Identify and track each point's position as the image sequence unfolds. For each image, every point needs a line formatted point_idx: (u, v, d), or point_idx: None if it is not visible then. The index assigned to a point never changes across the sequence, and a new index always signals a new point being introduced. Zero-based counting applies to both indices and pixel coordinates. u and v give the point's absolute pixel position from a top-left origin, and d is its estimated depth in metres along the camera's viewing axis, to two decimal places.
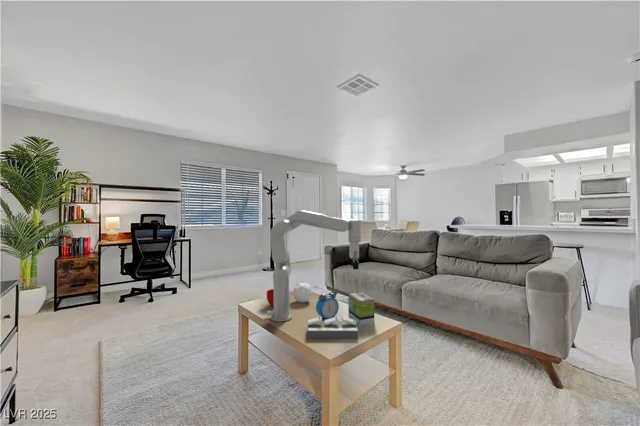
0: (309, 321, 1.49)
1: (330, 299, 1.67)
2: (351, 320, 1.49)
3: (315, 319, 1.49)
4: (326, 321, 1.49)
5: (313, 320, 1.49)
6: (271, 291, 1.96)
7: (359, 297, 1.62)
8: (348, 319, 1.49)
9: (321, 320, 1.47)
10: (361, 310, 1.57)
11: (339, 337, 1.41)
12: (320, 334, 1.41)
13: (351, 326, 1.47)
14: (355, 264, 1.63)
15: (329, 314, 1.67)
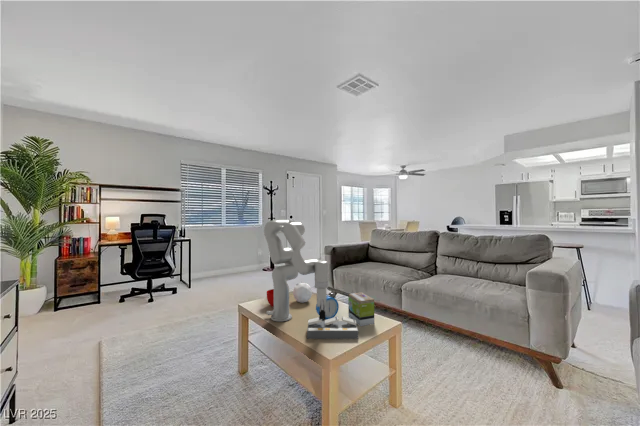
0: (309, 321, 1.49)
1: (330, 299, 1.67)
2: (351, 320, 1.49)
3: (315, 319, 1.49)
4: (326, 321, 1.49)
5: (313, 320, 1.49)
6: (271, 291, 1.96)
7: (359, 297, 1.62)
8: (348, 319, 1.49)
9: (321, 320, 1.47)
10: (361, 310, 1.57)
11: (339, 337, 1.41)
12: (320, 334, 1.41)
13: (351, 326, 1.47)
14: (321, 313, 1.47)
15: (329, 314, 1.67)
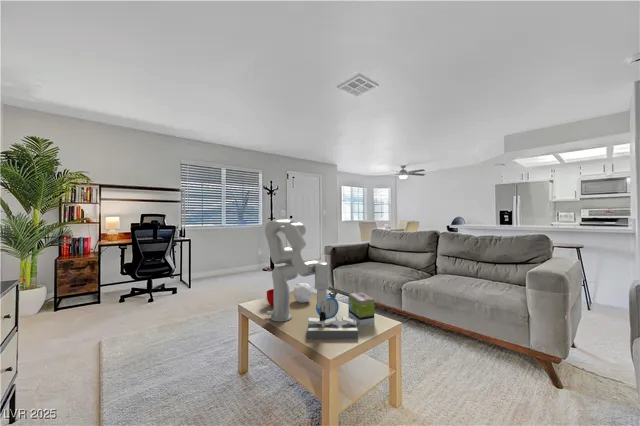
0: (310, 319, 1.49)
1: (330, 299, 1.67)
2: (351, 320, 1.49)
3: (316, 319, 1.49)
4: (326, 321, 1.49)
5: (314, 319, 1.49)
6: (271, 291, 1.96)
7: (359, 297, 1.62)
8: (348, 319, 1.49)
9: None
10: (361, 310, 1.57)
11: (339, 337, 1.41)
12: (320, 334, 1.41)
13: (351, 326, 1.47)
14: (322, 315, 1.47)
15: (329, 314, 1.67)
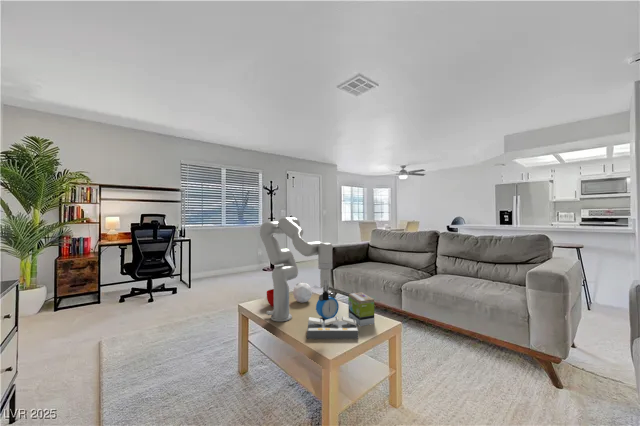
0: (310, 319, 1.49)
1: (330, 299, 1.67)
2: (351, 320, 1.49)
3: (316, 319, 1.49)
4: (326, 321, 1.49)
5: (314, 319, 1.49)
6: (271, 291, 1.96)
7: (359, 297, 1.62)
8: (348, 319, 1.49)
9: None
10: (361, 310, 1.57)
11: (339, 337, 1.41)
12: (320, 334, 1.41)
13: (351, 326, 1.47)
14: (325, 295, 1.48)
15: (329, 314, 1.67)
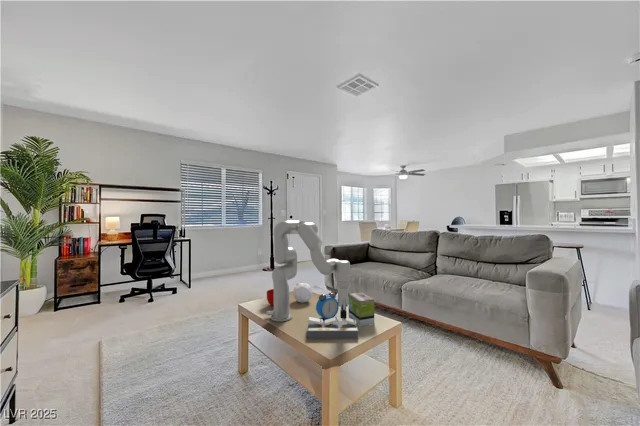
0: (310, 318, 1.49)
1: (330, 299, 1.67)
2: (351, 320, 1.49)
3: (316, 319, 1.49)
4: (326, 321, 1.49)
5: (314, 319, 1.49)
6: (271, 291, 1.96)
7: (359, 297, 1.62)
8: (348, 319, 1.49)
9: None
10: (361, 310, 1.57)
11: (339, 337, 1.41)
12: (320, 334, 1.41)
13: (351, 326, 1.47)
14: (343, 313, 1.48)
15: (329, 314, 1.67)
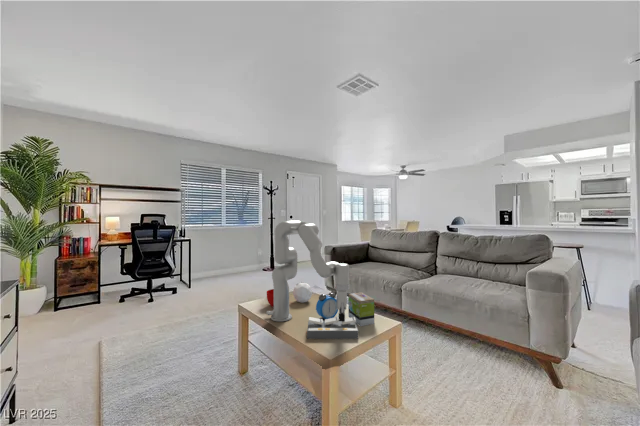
0: (310, 318, 1.49)
1: (330, 299, 1.67)
2: (350, 319, 1.49)
3: (316, 319, 1.49)
4: (326, 321, 1.49)
5: (314, 319, 1.49)
6: (271, 291, 1.96)
7: (359, 297, 1.62)
8: (347, 319, 1.49)
9: None
10: (361, 310, 1.57)
11: (339, 337, 1.41)
12: (320, 334, 1.41)
13: (351, 326, 1.47)
14: (341, 316, 1.48)
15: (329, 314, 1.67)
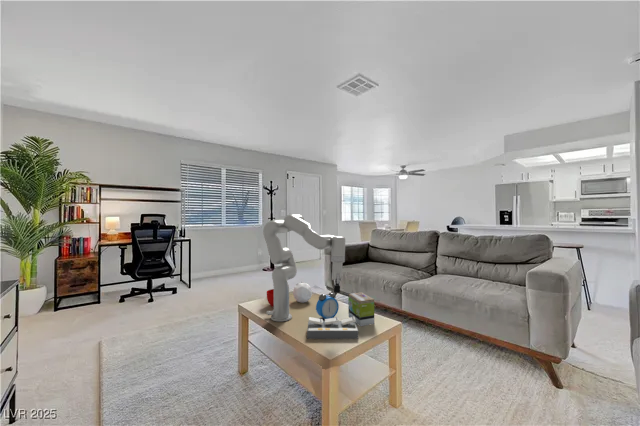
0: (310, 318, 1.49)
1: (330, 299, 1.67)
2: (350, 319, 1.49)
3: (316, 319, 1.49)
4: (326, 320, 1.49)
5: (314, 319, 1.49)
6: (271, 291, 1.96)
7: (359, 297, 1.62)
8: (347, 320, 1.49)
9: None
10: (361, 310, 1.57)
11: (339, 337, 1.41)
12: (320, 334, 1.41)
13: (351, 326, 1.47)
14: (336, 287, 1.50)
15: (329, 314, 1.67)
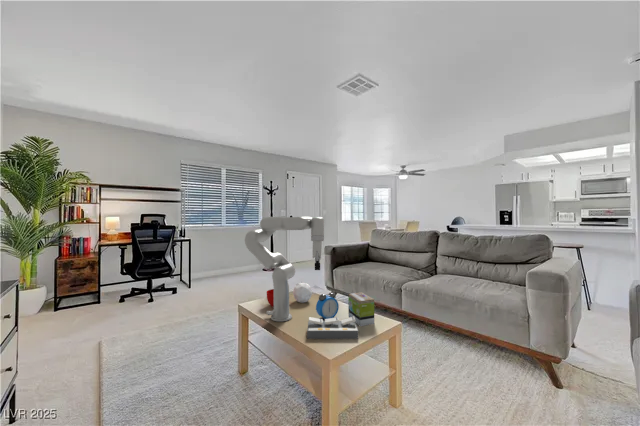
0: (310, 318, 1.49)
1: (330, 299, 1.67)
2: (350, 319, 1.49)
3: (316, 319, 1.49)
4: (326, 320, 1.49)
5: (314, 319, 1.49)
6: (271, 291, 1.96)
7: (359, 297, 1.62)
8: (347, 320, 1.49)
9: None
10: (361, 310, 1.57)
11: (339, 337, 1.41)
12: (320, 334, 1.41)
13: (351, 326, 1.47)
14: (317, 265, 1.60)
15: (329, 314, 1.67)
